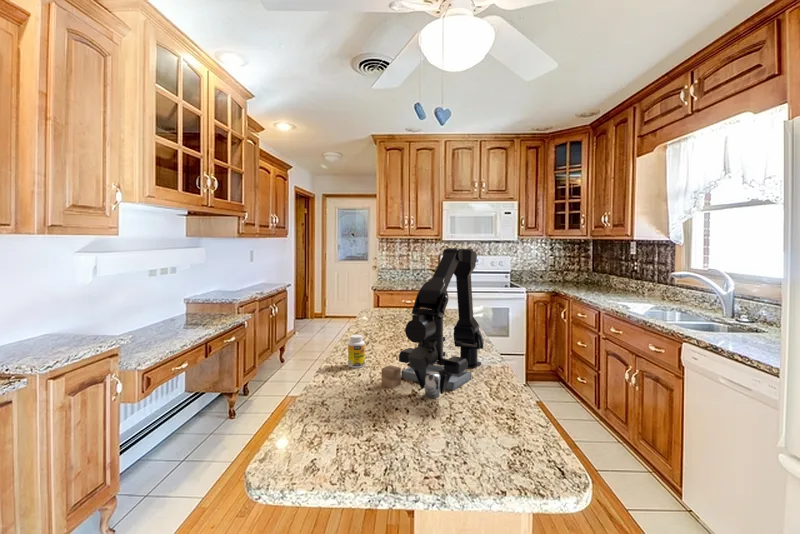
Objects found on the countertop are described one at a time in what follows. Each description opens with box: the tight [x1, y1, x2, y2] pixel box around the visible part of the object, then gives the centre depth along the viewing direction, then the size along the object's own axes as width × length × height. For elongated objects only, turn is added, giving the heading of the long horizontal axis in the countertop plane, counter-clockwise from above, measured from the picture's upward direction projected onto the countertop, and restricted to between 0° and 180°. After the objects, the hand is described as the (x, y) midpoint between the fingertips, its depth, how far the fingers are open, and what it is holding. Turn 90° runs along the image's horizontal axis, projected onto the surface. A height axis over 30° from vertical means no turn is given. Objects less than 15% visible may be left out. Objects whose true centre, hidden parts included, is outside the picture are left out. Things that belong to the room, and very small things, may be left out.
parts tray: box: [401, 364, 472, 391], centre depth 121 cm, size 11×18×2 cm, turn 54°
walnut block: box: [380, 364, 402, 389], centre depth 116 cm, size 4×4×5 cm
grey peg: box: [424, 372, 441, 400], centre depth 108 cm, size 4×4×6 cm
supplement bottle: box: [347, 334, 366, 369], centre depth 133 cm, size 6×6×10 cm
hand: (432, 391), depth 108 cm, fingers open, 6 cm apart
